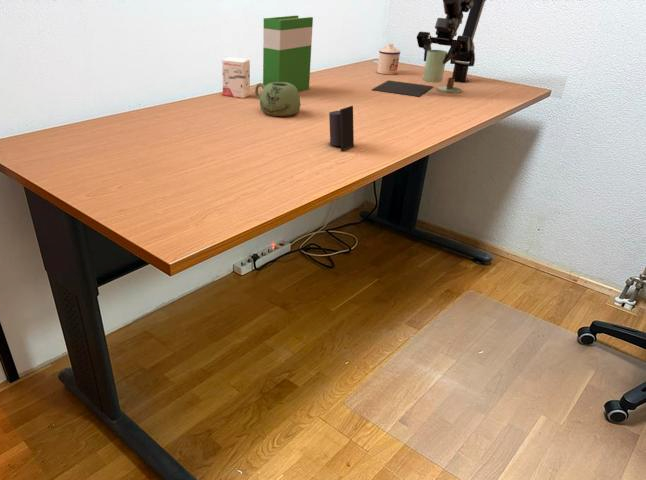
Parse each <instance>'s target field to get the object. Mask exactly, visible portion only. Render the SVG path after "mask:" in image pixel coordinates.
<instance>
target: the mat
mask: <svg viewBox="0 0 646 480" xmlns="http://www.w3.org/2000/svg"><path fill="white" fill-rule="evenodd" d="M430 89H433V85H425V84H418V83H412V82H411V83H410V82H405V81H395V80H387V81H385V82H383V83H381V84H379V85H377V86H376V87H374V88H372V89H371V91H375V92H382V93H389V94H395V95H403V96H409V97H417V98H419V97H421V96H422V95H423V94H425V93H426V92H428V91H429V90H430Z"/></svg>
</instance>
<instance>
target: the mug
mask: <svg viewBox="0 0 646 480" xmlns="http://www.w3.org/2000/svg"><path fill="white" fill-rule="evenodd" d="M260 87H261V89H262V90H261V91H262V92H261V93H259V88H260ZM254 94H255V97H256V98H257V99H258V100H259V107H260V111H262V112H263V113H265V114H266V115H268V116H273V117H290V116H295V114H297V113H299V112H300V109H301V97H300V93H299V91H298V90H297V88H296V87H295V86H294V85H293V84H290V83H287V82H273V83H269V84H267V85H266V86H265V85H263V83H261V82H259V83H257V84H256V85H255V88H254Z"/></svg>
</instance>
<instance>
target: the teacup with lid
mask: <svg viewBox="0 0 646 480" xmlns="http://www.w3.org/2000/svg"><path fill="white" fill-rule="evenodd" d="M378 54H379V55H378V60H377V67H376V68H377V70H376V72H377V73H378V74H379V75H388V76H389V75H390V76H393V75H396V74H397V73H398V69H399V62H400V54H401V50H400V49H398V48H397V47H395V46H394V43H388V44H387V46H385V47H382V48H380V49H379V51H378Z"/></svg>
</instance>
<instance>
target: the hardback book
mask: <svg viewBox="0 0 646 480" xmlns="http://www.w3.org/2000/svg"><path fill="white" fill-rule="evenodd" d="M313 23H314V17H312V16H307V17H299V15H285V16H276V17H275V16H274V17H265V18H263V31H262V33H263V36H262V37H263V38H262V40H263V41H262V42H263V44H262V46H263V49H262V50H263V51H262V52H263V53H262V54H263V55H262V84H263V85H265V86H266V85H267V84H269V83H273V82H287V83H290V84H293V85H294V86H295V87H296V88H297V90H298V92H301V91H305V90H309V89H310V82H311V81H310V79H311V62H312V61H311V60H312V42H313V26H314V25H313Z"/></svg>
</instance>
